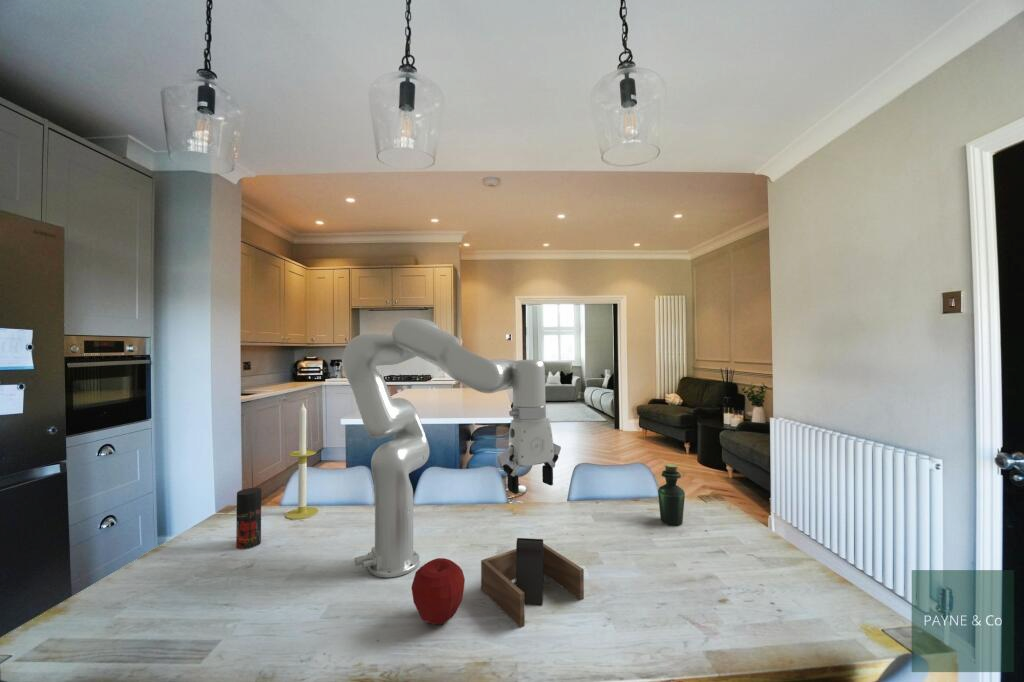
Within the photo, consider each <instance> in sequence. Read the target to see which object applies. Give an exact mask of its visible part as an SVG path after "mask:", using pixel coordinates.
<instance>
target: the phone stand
mask: <svg viewBox="0 0 1024 682" xmlns="http://www.w3.org/2000/svg"><path fill="white" fill-rule="evenodd" d="M515 543H516V546H515V549H516V579H515V585H516V586H517V587H518V588H519V589H520V590H522V591H523V592H524V605H532V606H533V605H534V606H536V605H538V606H543V603H544V587H545V586H544V585H545V579H544V578H545V574H544V564H543V544H544V538H527V537H526V538H525V537H517V538H516V542H515Z"/></svg>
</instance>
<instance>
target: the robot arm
mask: <svg viewBox="0 0 1024 682" xmlns="http://www.w3.org/2000/svg"><path fill="white" fill-rule="evenodd" d="M391 333H392V334H389V333H387V334H386V333H383V334H382V333H363V334H360V335H357V336H354V337H353V338H352V339H351V340H350V341H348V343H347V345H346V346H345V348H344V350H343V355H342V367H343V372H344V374H345V377H346V380H347V381H348V383H349V385H350V388H351V390H352V393H353V395H354V399H355V403H356V405H357V408H358V411H359V415H360V417H361V420H362V423H363V425H364V429H365V431H366V432H367V435H369V437H371V438H373V439H382V438H383V439H384V438H386V437H391V436H392V437H393V439H392V440H389V441H386V442H385V443H383V444H381V445H380V446H378V448H376V450H375V451H374V452H373V454H372V457H371V460H370V467H371V468H370V469H371V473H372V474H371V475H372V478H373V484H374V546H373V547H371V551H370V552H368V553H367V554H365V555H359V556H356V557H354V564H355V567H358V566H360V565H362V567H363V569H364V568H368V569H367V570H368V571H369V573H370V574H371V575H373V576H375V577H379V578H396V577H400V576H404V575H406V574H409V573H411V572H412V571H414V570H416V568H417V567H418V566H419V563H420V555H419V553H417V551H415V550H414V490H413V485H412V482H411V480H410V476H409V474H410V473H412V472H414V471H416V470H418V469H420V468H421V467H423V466H424V465H425V464H426V463H427V461H428V460H429V458H430V444H429V441H428V439H427V435H426V433H425V430H424V427H423V424H422V422H421V419H420V416H419V414H418V411H417V408H415V406H414V405H413V403H412V402H411V401H409V400H408V399H406V398H403V397H395V398H394V397H393V398H392V396H391V393H390V391H389V389H388V384H387V383H386V381H385V378H384V377H383V375H382V374H381V373H380V372H379V371H378V370H377V369H376V367H377V366H391V365H398V364H401V363H403V362H407V361H409V360H411V359H413V358H415V357H418V358H420V359H422V360H424V361H427V362H428V363H430V364H433V365H435V366H436V367H439V368H440V369H441V370H442V371H443V372H444V373H446V375H448V376H449V377H450V378H451V379H453V380H455V381H456V382H458V383H460V384H461V385H463V386H467V387H468V388H471V389H473V390H475V391H476V392H479V393H483V394H494V393H497V392H501V391H506V390H510V389H511V390H512V409H511V410H509V411H508V415H509V416H510V417H512V419H511V420H510V421H511V422H510V425H509V431H508V432H509V433H508V448H507V449H504V451H502V452H501V453H500V454H499V455H497V457H496V459H497V462H498V464H499V466H500V469H501V470H502V471H503V472H504V474H507V489H508V492H510V493H512V494H514V495H519V492H520V490H519V476H518V475H517V474H518V472H519V470H520V469H521V468H526V467H531V466H537V465H541V464H544V465H542V471H541V473H542V475H541V476H542V483H544V484H546V485H548V486H554V468H555V467H556V462H557V461H558V460H559V455H560V452H561V450H562V447H561V445H558V444H557V443H554V440H553V439H554V438H553V432H552V431H553V430H552V427H551V426H552V425H551V422H550V418H549V417H547V412H546V411H547V408H546V404H547V403H546V401H547V400H546V375H545V374H546V368H545V363H544V362H543V361H542V360H540V359H518V360H512V359H506V358H505V359H504V358H499V359H498V358H497V359H496V358H494V359H488V358H486V357H483V356H481V355H478V354H476V353H474V352H473V351H470V350H468V349H466V348H465V347H463V346H461V344H460V341H459V338H458V337H457V336H455V335H454V334H450V333H449V332H446V331H444V330H442V329H440V327H439V326H438V325H437V324H436V323H435V322H433V321H432V320H429V319H423V318H416V317H406V318H402V319H400V320H399V321H397V323H395V324H394V326H393V329H392V332H391ZM507 459H508V461H509V463H508V462H507Z"/></svg>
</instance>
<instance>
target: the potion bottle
mask: <svg viewBox="0 0 1024 682" xmlns="http://www.w3.org/2000/svg"><path fill="white" fill-rule="evenodd" d="M664 468H665V469H664V470H663V471H662V473H661V476H662V477H663V478H664V479H665V484H663V485H661V486H659V488H658V489H657V495H658V505H659V515H660V516H659V517H660V521H661V523H663V524H665V525H668V526H672V527H678V526H681V525H683V523H684V521H683V520H684V509H685V499H686V498H685V495H686V492H685V491H684V488H683V489H682V487H680V486H679V485H677V482H678V480H679V479H682V478H681V477H682V475H681V473H680V472H679V471H677V469H678V465H677V464H676V463H665V464H664Z"/></svg>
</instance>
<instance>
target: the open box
mask: <svg viewBox="0 0 1024 682" xmlns="http://www.w3.org/2000/svg"><path fill="white" fill-rule="evenodd" d="M480 564H481V565H480V570H481V571H480V572H481V573H480V587H481V588H480V589H481V590H482V591H483V592H484V593H485V594H486V595H487V596H488V597H489V598H490V599H491V600H492V601H493V602H494V603H495V604H496V605H497V606H498V607H499V608H500V609H501V610H502V611H503V612H504V613H505V614H506V615H507V616H508V617H509V618H510V619H511V620H512V621H513V622H514V623H515V624H516V625H517V626H518V627H519V628H523V627H525V624H526V623H525V621H526V620H525V612H526V611H525V610H526V609H525V604H524V592H523V591H522V590H520V589H519V588H518V587H517V586H516V583H513V580H516V548H514V549H512V550H509V551H506V552H502V553H499V554H496V555H493V556H490V557H486V558H484V559H481V560H480ZM543 564H544V576H545V575H546V576H547V577H548V578H549V579H550V580H552V581H553V582H555V583H556V584H558V585H559V586H560V587H562V588H563V589H565V590H566V591H567V592H568V593H569V594H571V595H572V596H573V597H575V598H577V600H579V601H582V600H584V599H585V597H584V596H585V593H584V592H585V591H584V590H585V585H584V581H585V578H584V577H585V576H584V575H585V574H584V572H585V569H584V568H582V567H581V566H579V565H577V563H574V562H573V561H571V560H569V558H566V557H565V556H563V555H562V554H560V553H559V552H557V551H556V550H555V549H553V548H552V547H550V546H549V545H546V544H545V543H543Z"/></svg>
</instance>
